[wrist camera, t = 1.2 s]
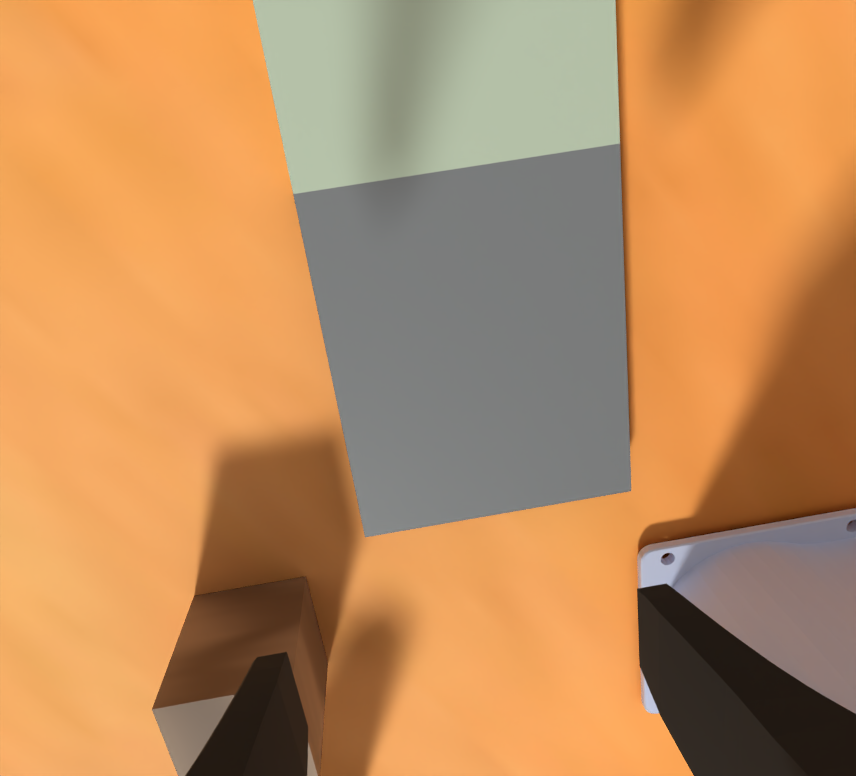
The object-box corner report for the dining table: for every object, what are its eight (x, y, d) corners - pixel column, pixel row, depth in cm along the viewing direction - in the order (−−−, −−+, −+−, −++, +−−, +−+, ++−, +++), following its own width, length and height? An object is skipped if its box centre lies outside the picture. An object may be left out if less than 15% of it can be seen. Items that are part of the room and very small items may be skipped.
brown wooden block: (305, 575, 23) (291, 683, 19) (327, 661, 25) (319, 782, 20) (194, 595, 23) (151, 709, 19) (223, 680, 25) (190, 806, 20)
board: (584, -363, 15) (602, -404, 14) (618, 474, 23) (631, 491, 22) (193, -313, 15) (179, -351, 14) (365, 517, 23) (365, 537, 22)
